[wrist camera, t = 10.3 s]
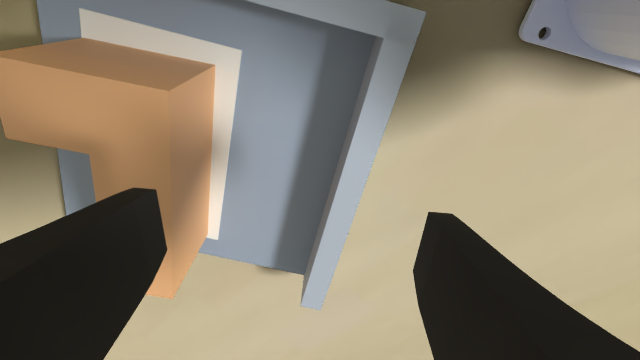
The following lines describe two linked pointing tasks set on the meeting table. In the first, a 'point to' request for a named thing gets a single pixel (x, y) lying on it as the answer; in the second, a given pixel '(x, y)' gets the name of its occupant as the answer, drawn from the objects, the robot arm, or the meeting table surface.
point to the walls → (356, 118)
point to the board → (241, 111)
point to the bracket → (122, 128)
